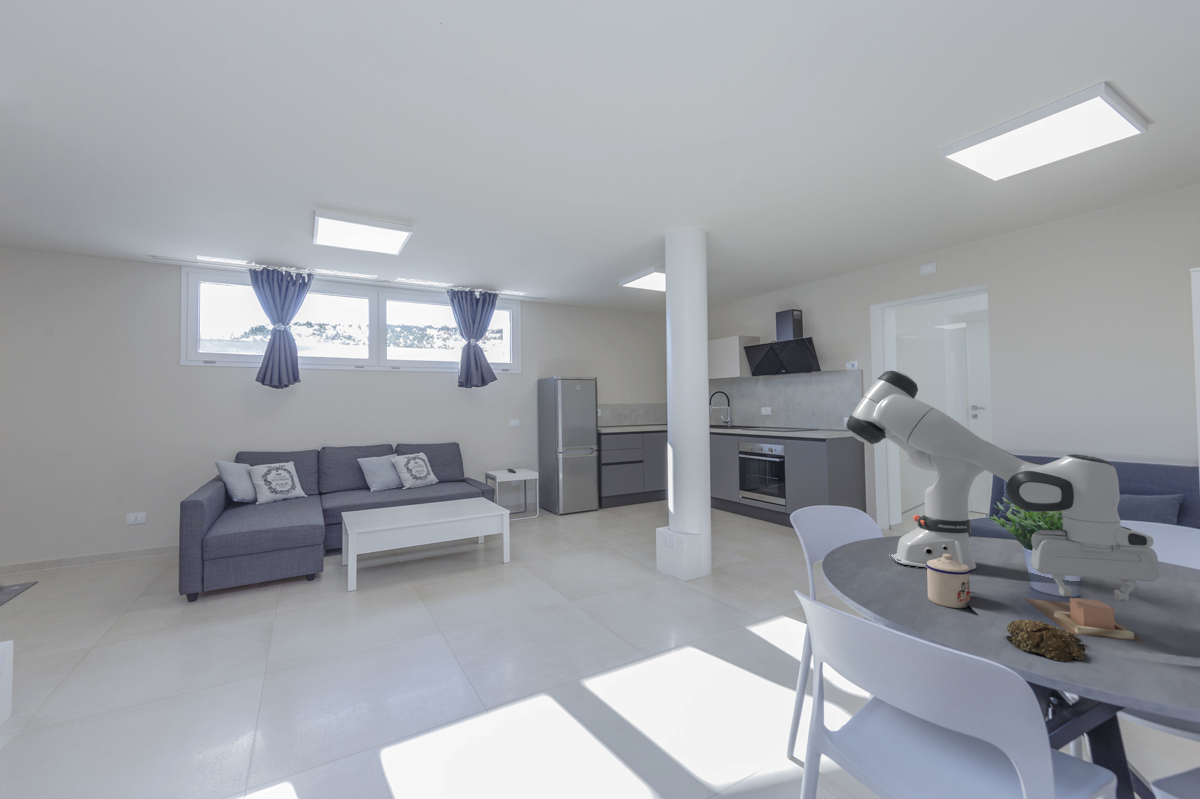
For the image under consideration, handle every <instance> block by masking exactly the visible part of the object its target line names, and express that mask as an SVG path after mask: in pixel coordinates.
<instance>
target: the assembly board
mask: <svg viewBox="0 0 1200 799" xmlns="http://www.w3.org/2000/svg"><path fill="white" fill-rule="evenodd" d="M1024 600H1025V601H1026V602H1027V603H1029V604H1030V605H1031V606H1032V607H1034V608H1036V610H1039V612H1041V613H1042V614H1044V615H1045V616H1046V617H1048V618H1049V619H1050V620H1051V621H1052V622H1054V623H1056V624H1057V625H1058V626H1059V627H1061V628H1062V630H1064V631H1069V632H1072V633H1074V635H1079V636H1090V637H1096V638H1097V637H1099V638H1106V639H1107V638H1108V639H1117V640H1125V641H1127V640H1128V641H1135V642H1144V643H1145V642H1146V641H1145V640H1144V639H1142V638H1141V637H1139V636H1138V635H1136V634H1135V633H1134V632H1132V631H1131V630H1129V629H1128V628H1126V627H1125V626H1123V625H1121V624H1120V623H1118V622H1116V620H1114V627H1115V630H1114V629H1105V628H1095V627H1085V626H1080V625H1079V624H1077V623H1076V622H1074V621H1073V620H1072V619H1071V618H1070V602H1065V601H1052V600H1043V599H1034V598H1033V599H1032V598H1024Z"/></svg>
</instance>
